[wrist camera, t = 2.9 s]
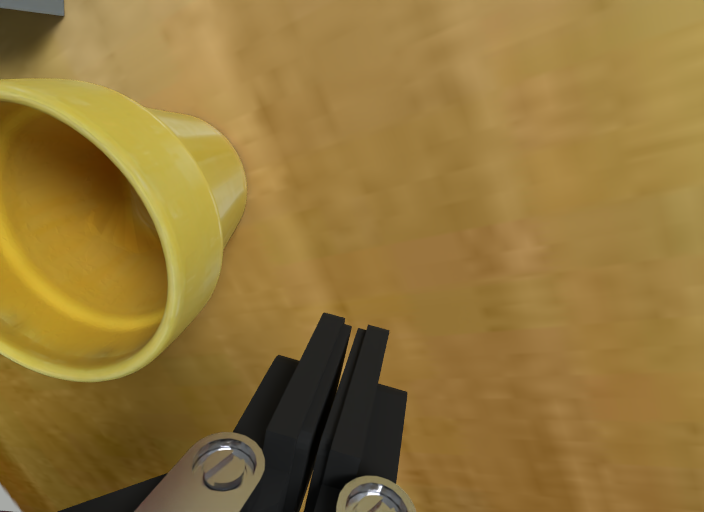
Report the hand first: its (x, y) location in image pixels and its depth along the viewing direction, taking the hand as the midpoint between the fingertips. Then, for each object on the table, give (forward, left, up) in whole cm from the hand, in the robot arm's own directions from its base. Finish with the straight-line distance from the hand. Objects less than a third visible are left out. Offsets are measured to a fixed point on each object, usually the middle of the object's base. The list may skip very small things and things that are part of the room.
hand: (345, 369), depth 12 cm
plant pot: (-1, +11, -12) cm, 16 cm away
